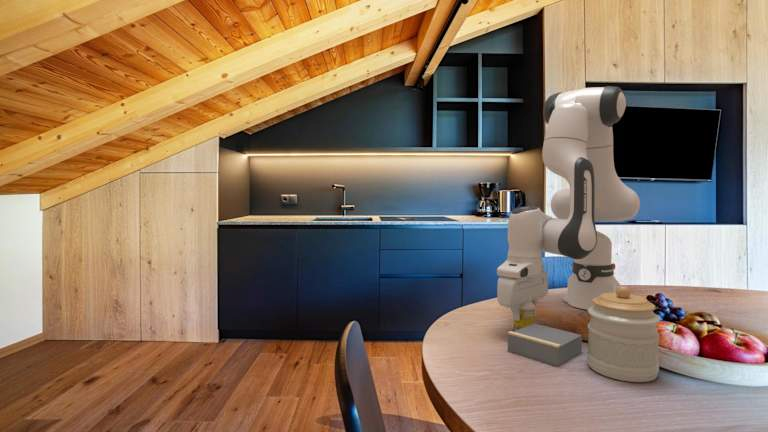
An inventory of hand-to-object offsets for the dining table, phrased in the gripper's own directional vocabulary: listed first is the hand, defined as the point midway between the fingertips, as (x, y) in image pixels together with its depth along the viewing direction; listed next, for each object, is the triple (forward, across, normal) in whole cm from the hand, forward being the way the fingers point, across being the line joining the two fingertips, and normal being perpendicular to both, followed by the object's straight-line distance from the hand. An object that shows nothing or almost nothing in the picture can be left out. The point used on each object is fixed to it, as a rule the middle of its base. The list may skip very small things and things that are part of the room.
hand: (524, 317), depth 110 cm
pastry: (+4, -8, +14) cm, 17 cm away
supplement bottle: (+4, 0, 0) cm, 4 cm away
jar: (+4, +8, +27) cm, 28 cm away
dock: (+4, +10, +11) cm, 15 cm away
